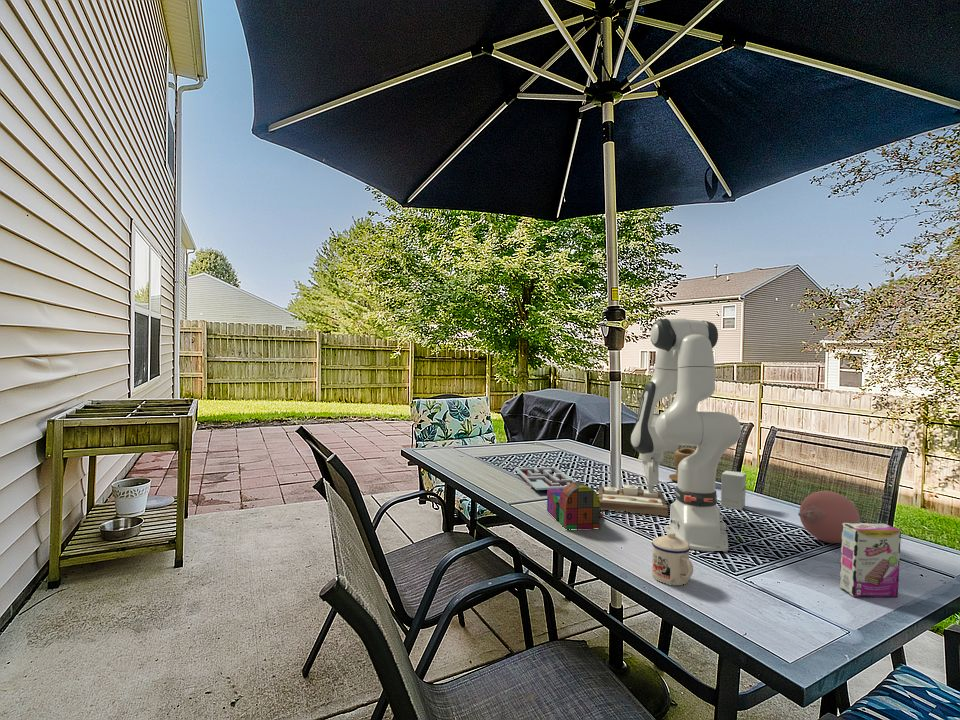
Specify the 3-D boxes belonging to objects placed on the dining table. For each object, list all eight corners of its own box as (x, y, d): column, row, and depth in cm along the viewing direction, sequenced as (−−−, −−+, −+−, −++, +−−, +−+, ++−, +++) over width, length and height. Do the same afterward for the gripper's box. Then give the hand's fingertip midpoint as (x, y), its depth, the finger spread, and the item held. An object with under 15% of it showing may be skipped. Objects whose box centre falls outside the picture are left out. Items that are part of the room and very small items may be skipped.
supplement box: (742, 510, 185) (742, 476, 184) (720, 506, 189) (721, 473, 189) (745, 506, 191) (746, 472, 190) (724, 502, 195) (725, 469, 195)
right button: (658, 502, 190) (658, 493, 190) (644, 501, 191) (644, 492, 191) (656, 498, 195) (657, 490, 195) (643, 497, 196) (643, 489, 196)
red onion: (775, 535, 159) (776, 487, 159) (824, 530, 164) (825, 484, 164) (819, 554, 144) (821, 501, 144) (872, 548, 150) (873, 497, 149)
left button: (617, 498, 194) (617, 490, 194) (603, 497, 195) (604, 489, 195) (616, 495, 199) (617, 487, 199) (603, 494, 200) (604, 486, 200)
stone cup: (679, 485, 219) (680, 451, 219) (665, 478, 231) (666, 446, 230) (711, 484, 221) (712, 450, 221) (695, 478, 233) (696, 445, 233)
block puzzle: (615, 528, 164) (615, 485, 164) (565, 531, 161) (566, 487, 161) (585, 505, 189) (586, 468, 188) (542, 507, 186) (542, 469, 185)
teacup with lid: (643, 573, 130) (644, 528, 130) (672, 568, 134) (673, 525, 133) (676, 594, 119) (677, 545, 119) (706, 589, 122) (707, 541, 122)
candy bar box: (854, 598, 118) (856, 529, 118) (838, 588, 124) (840, 522, 123) (900, 598, 119) (902, 529, 119) (882, 588, 124) (884, 522, 124)
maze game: (515, 474, 236) (515, 468, 236) (555, 473, 239) (555, 466, 239) (536, 495, 201) (536, 488, 201) (582, 494, 205) (582, 486, 205)
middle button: (637, 496, 192) (637, 488, 192) (623, 495, 193) (624, 487, 193) (636, 493, 197) (636, 485, 197) (623, 492, 198) (623, 484, 198)
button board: (667, 516, 177) (668, 506, 177) (598, 510, 182) (598, 500, 182) (661, 499, 198) (661, 490, 198) (598, 493, 204) (599, 485, 204)
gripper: (663, 461, 182) (662, 499, 182) (657, 451, 202) (656, 485, 202) (644, 460, 184) (644, 498, 184) (641, 450, 204) (640, 484, 204)
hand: (650, 491), depth 193 cm, fingers closed
